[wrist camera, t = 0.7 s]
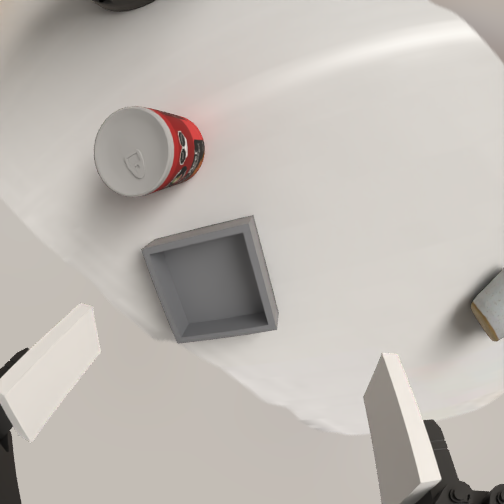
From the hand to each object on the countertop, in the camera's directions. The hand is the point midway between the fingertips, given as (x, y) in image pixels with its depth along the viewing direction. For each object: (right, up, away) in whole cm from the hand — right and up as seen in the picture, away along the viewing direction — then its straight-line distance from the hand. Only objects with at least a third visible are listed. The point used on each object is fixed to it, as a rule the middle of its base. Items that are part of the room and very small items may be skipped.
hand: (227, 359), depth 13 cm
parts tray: (-3, +2, +26) cm, 26 cm away
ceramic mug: (+36, -2, +22) cm, 42 cm away
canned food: (-8, +16, +21) cm, 28 cm away
